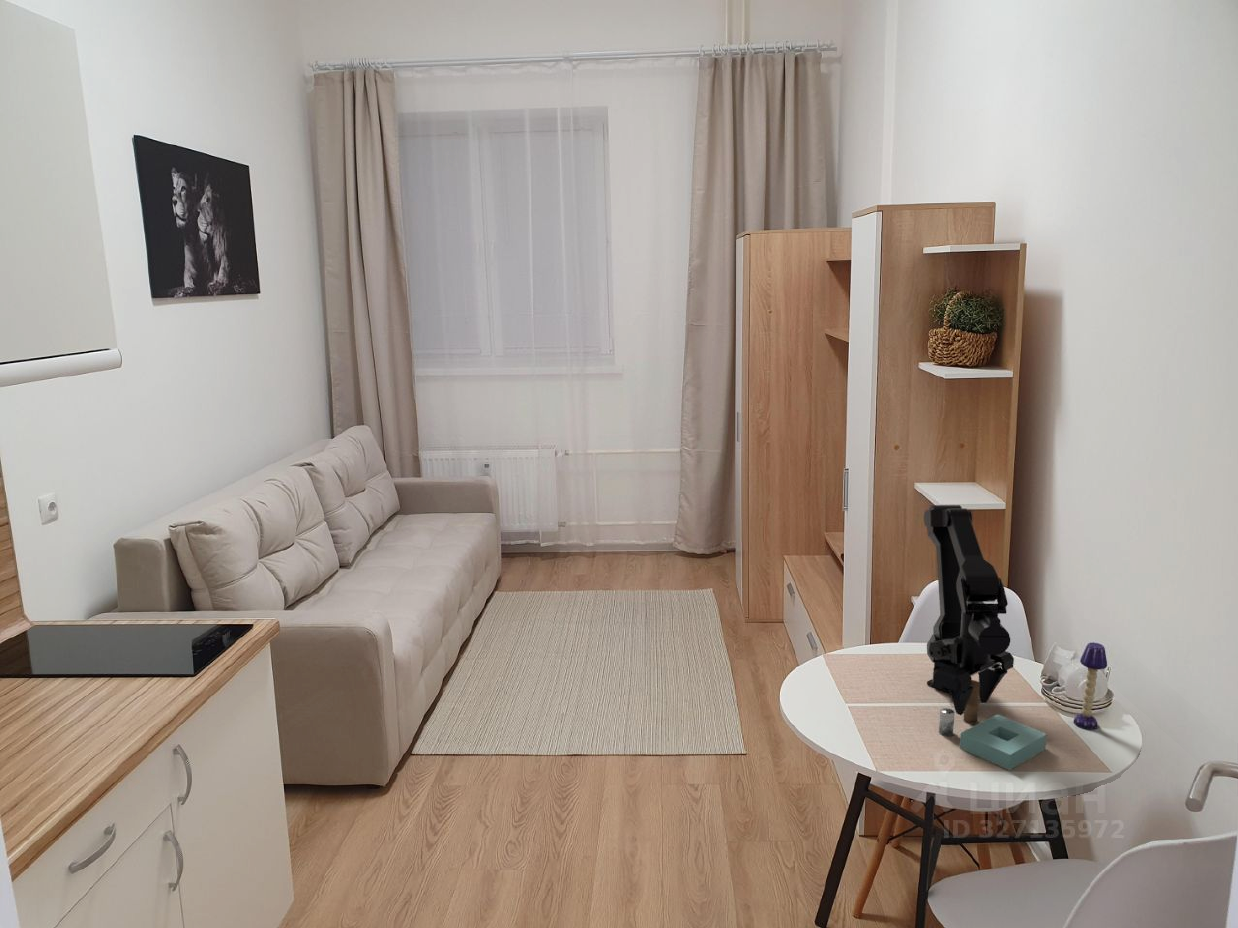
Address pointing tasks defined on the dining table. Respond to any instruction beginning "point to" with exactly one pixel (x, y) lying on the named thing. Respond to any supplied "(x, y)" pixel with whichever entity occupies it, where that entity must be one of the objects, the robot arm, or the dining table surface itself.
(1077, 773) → the dining table surface
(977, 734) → the collar block
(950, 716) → the grey stub
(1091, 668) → the toy lamp
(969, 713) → the walnut dowel
